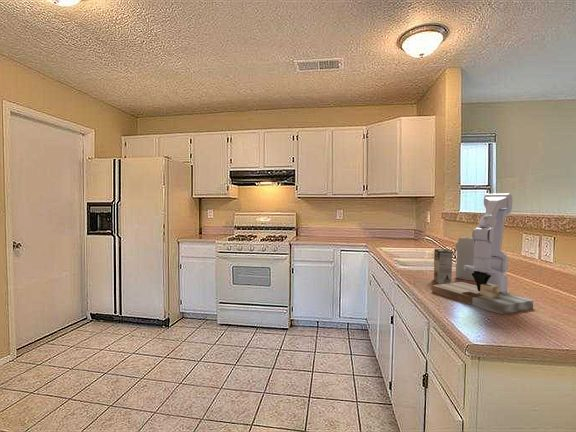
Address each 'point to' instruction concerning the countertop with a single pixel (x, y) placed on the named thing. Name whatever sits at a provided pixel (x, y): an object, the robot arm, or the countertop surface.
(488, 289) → the block
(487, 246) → the robot arm
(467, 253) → the grey upright slab
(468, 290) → the trap board
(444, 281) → the coffee box
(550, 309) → the countertop surface
